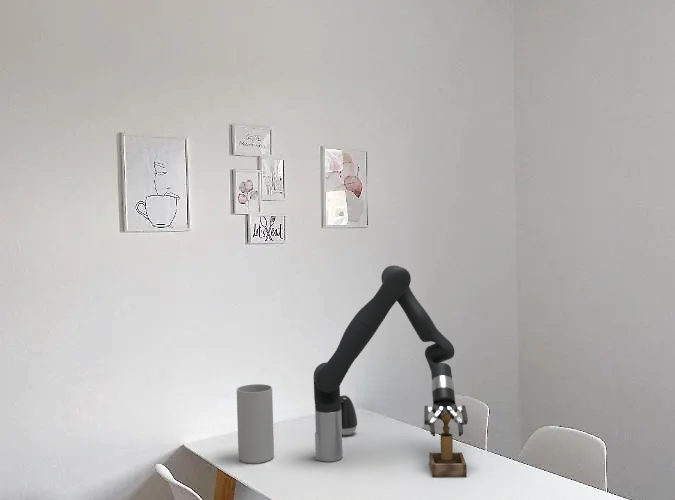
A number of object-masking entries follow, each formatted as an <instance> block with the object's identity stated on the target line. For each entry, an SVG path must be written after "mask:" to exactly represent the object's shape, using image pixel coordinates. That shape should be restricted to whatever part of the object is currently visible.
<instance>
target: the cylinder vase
mask: <svg viewBox="0 0 675 500" xmlns="http://www.w3.org/2000/svg"><path fill="white" fill-rule="evenodd" d="M273 402H274V400H273V387H272V386H271V385H269V384H259V383H257V384H255V383H254V384H246V385H241V386H238V387H237V388H236V409H237V410H236V412H237V413H236V414H237V418H236V419H237V444H238V445H237V447H238V452H237V453H238V459H239V460H240V461H241V462H242V463H244V464H245V463H246V464H255V465H256V464H262V463H266V462H269V461H271V460H272V459H274V457H275V443H274V440H275V439H274V437H275V436H274V408H273V407H274V403H273Z"/></svg>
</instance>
